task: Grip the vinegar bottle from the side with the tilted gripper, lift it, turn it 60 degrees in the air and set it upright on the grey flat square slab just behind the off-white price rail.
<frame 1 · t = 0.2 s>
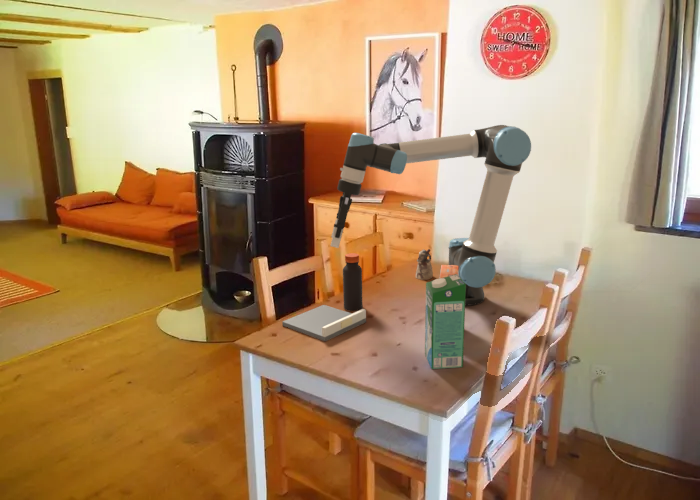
hand: (334, 242, 190), 27 cm above the table, tool tilted 15°, fingers open, 13 cm apart
milk carton: (443, 361, 164), on the table
figurine: (424, 277, 238), on the table
cracker box: (447, 332, 183), on the table
grey flat square slab: (324, 323, 192), on the table
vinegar: (353, 308, 206), on the table
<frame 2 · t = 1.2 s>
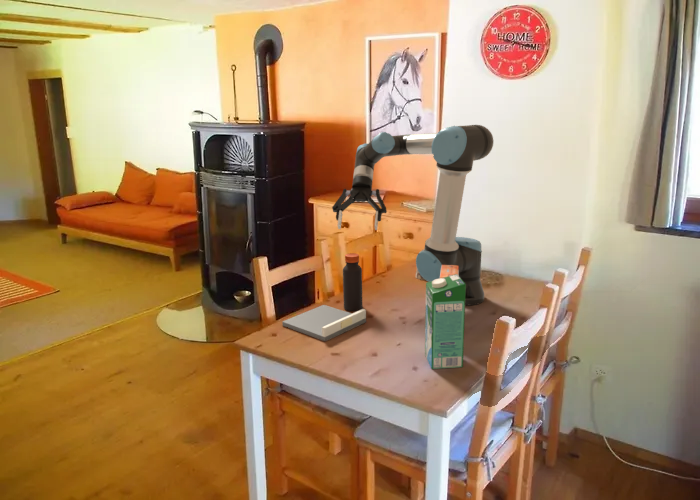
hand: (357, 227, 207), 28 cm above the table, tool tilted 45°, fingers open, 13 cm apart
nothing on the table moved.
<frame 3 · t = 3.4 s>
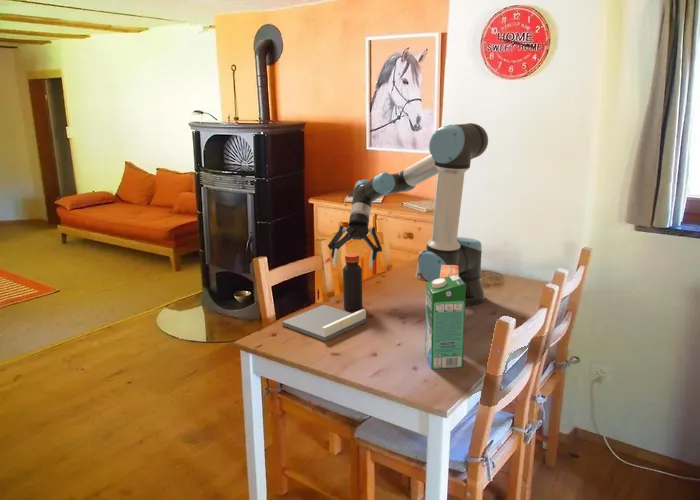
hand: (352, 266, 208), 14 cm above the table, tool tilted 45°, fingers open, 13 cm apart
nothing on the table moved.
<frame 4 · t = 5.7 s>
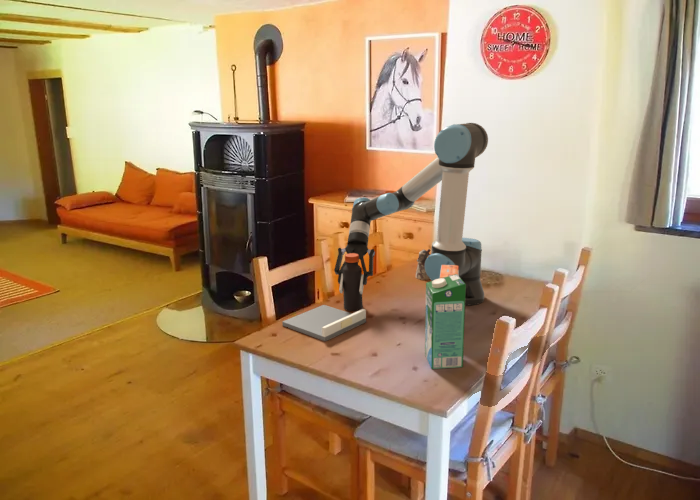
hand: (350, 291, 200), 7 cm above the table, tool tilted 45°, fingers closed on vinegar, 6 cm apart
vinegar: (353, 308, 206), on the table, touching gripper
everything else where it was.
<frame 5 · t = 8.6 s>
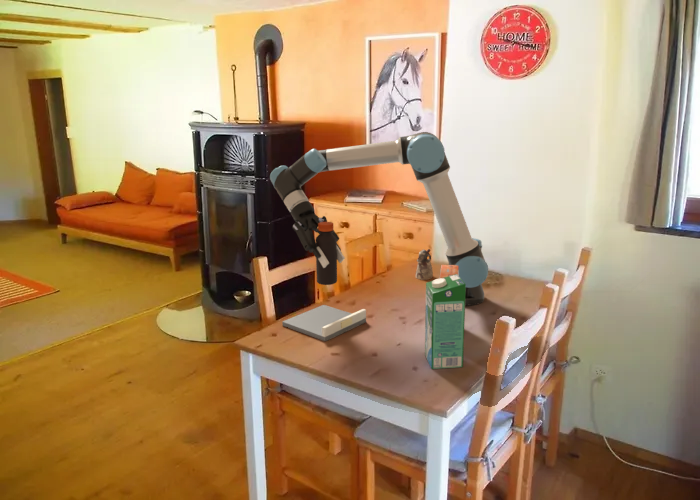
hand: (334, 262, 184), 22 cm above the table, tool tilted 45°, fingers closed on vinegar, 6 cm apart
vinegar: (327, 282, 189), point 15 cm above the table, touching gripper
everything else where it was.
when the fingers open (10 cm above the table, at t = 11.6 s): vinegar drops 1 cm, resting on grey flat square slab.
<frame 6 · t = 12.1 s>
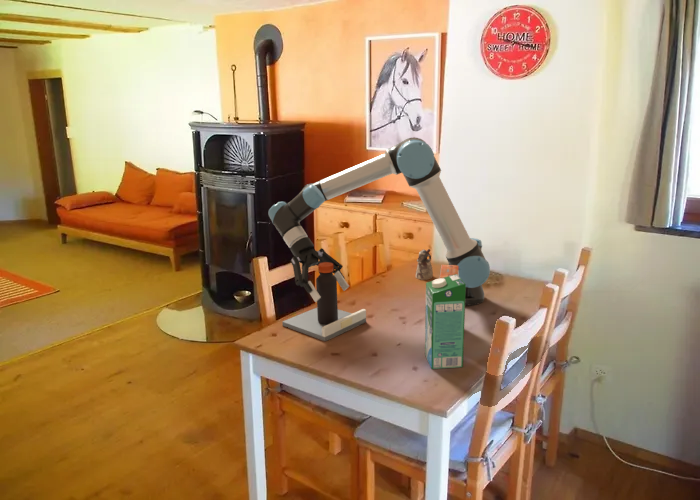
hand: (332, 294, 186), 12 cm above the table, tool tilted 45°, fingers open, 13 cm apart
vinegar: (327, 321, 191), point 1 cm above the table, touching grey flat square slab
everything else where it was.
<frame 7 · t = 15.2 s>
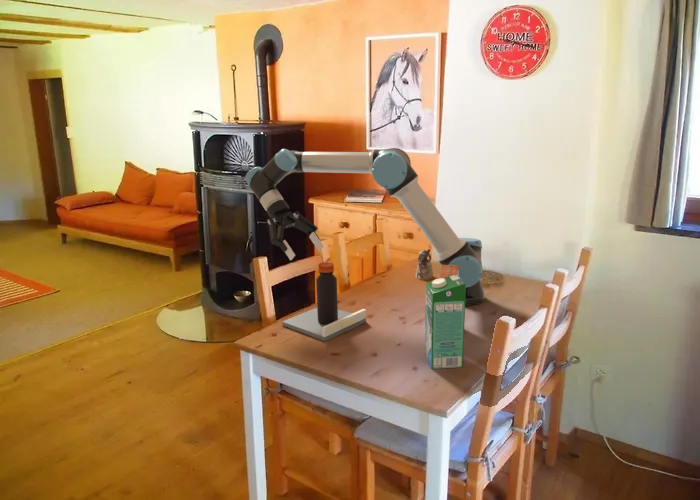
hand: (307, 253, 194), 23 cm above the table, tool tilted 45°, fingers open, 13 cm apart
nothing on the table moved.
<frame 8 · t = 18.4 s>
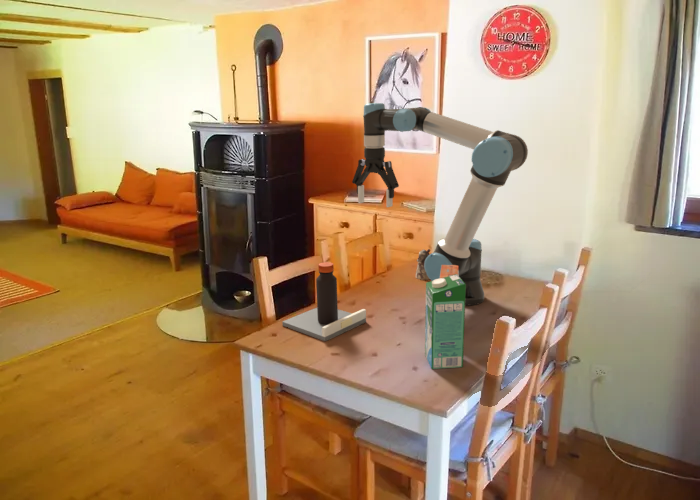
hand: (375, 204, 212), 35 cm above the table, tool pointing down, fingers open, 13 cm apart
nothing on the table moved.
at the end: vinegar inside the target area (0.9 cm from its centre), point 1.3 cm above the table; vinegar tilted 0°; the gripper is holding nothing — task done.
